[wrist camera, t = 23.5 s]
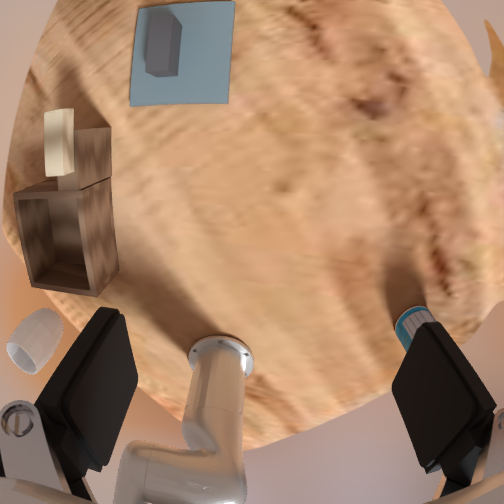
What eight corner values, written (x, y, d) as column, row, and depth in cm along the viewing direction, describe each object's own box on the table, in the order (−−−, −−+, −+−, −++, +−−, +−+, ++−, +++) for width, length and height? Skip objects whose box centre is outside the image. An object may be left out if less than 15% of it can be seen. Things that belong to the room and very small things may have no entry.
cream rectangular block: (74, 171, 32) (63, 175, 29) (56, 173, 31) (45, 176, 29) (73, 108, 28) (62, 108, 26) (55, 112, 28) (44, 112, 26)
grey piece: (228, 104, 39) (223, 99, 32) (135, 107, 38) (114, 104, 32) (235, 6, 32) (232, -14, 26) (143, 13, 32) (126, -3, 25)
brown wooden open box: (120, 270, 49) (95, 301, 39) (57, 264, 48) (27, 290, 39) (111, 127, 39) (76, 129, 30) (43, 136, 39) (4, 142, 30)
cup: (58, 284, 50) (-1, 348, 31) (76, 265, 48) (10, 331, 29) (82, 311, 52) (30, 381, 33) (101, 294, 51) (46, 369, 32)
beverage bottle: (413, 297, 50) (465, 368, 32) (436, 313, 52) (484, 379, 33) (385, 329, 53) (424, 406, 35) (409, 343, 55) (448, 414, 36)
